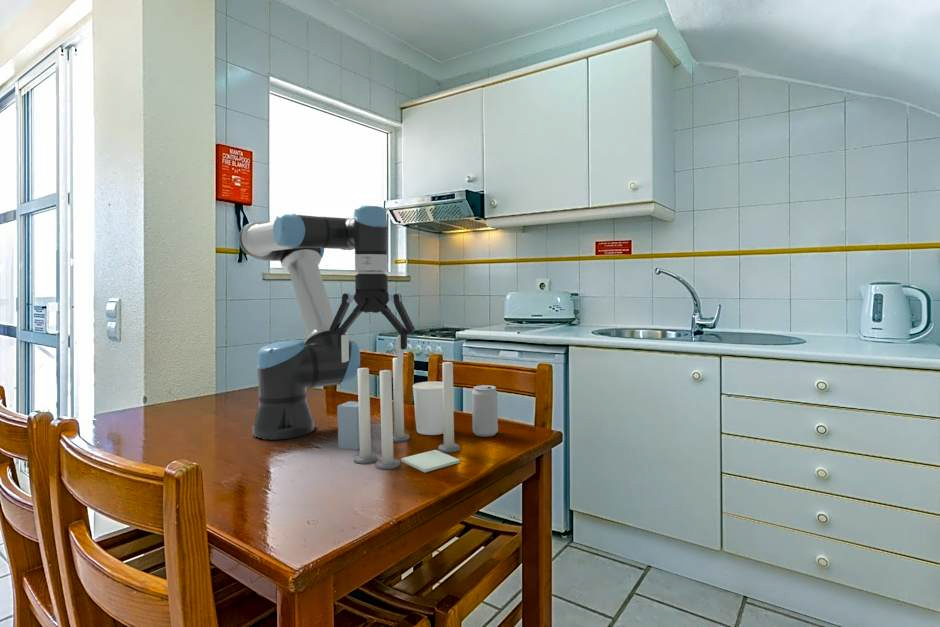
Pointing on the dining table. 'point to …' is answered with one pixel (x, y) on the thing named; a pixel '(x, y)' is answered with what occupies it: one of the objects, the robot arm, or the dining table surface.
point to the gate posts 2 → (387, 421)
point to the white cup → (429, 407)
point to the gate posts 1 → (364, 412)
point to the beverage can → (484, 410)
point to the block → (348, 425)
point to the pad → (430, 460)
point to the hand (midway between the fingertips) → (372, 362)
